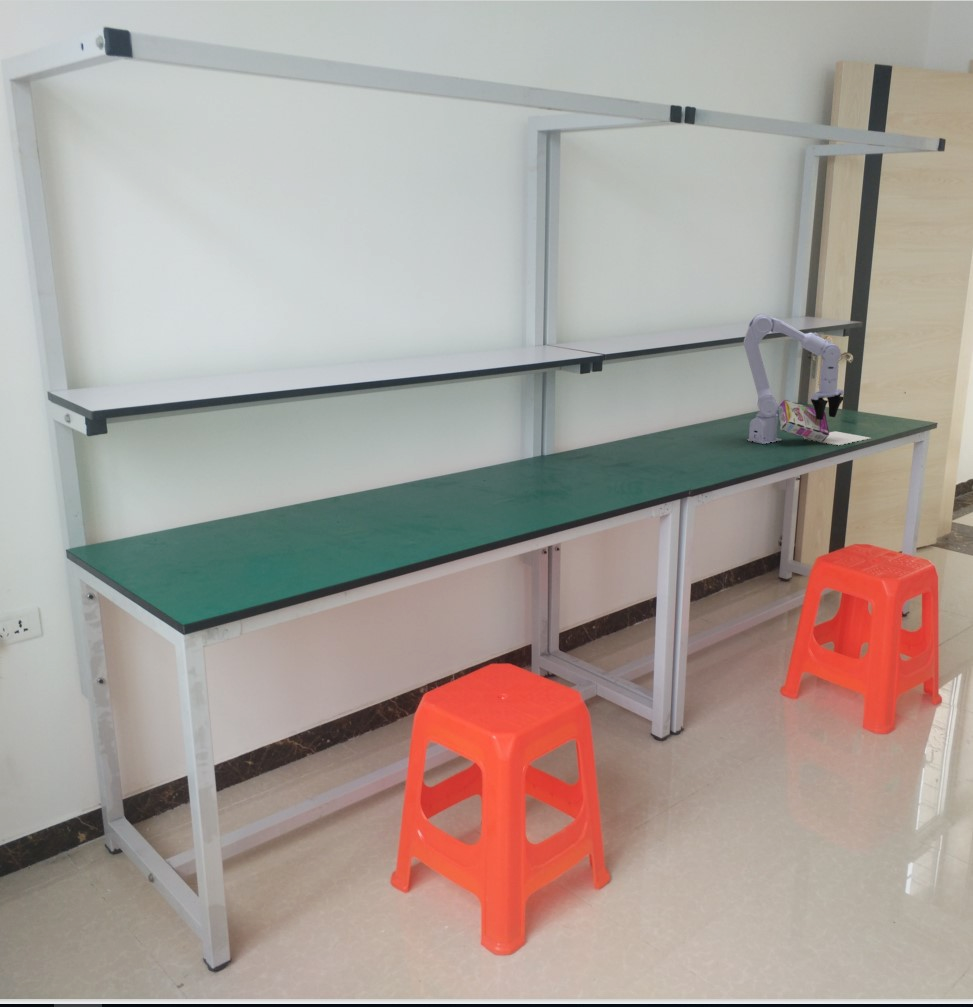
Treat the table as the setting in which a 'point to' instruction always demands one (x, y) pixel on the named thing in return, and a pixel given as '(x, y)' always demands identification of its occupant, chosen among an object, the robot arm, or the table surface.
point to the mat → (842, 438)
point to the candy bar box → (802, 421)
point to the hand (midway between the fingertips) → (825, 418)
